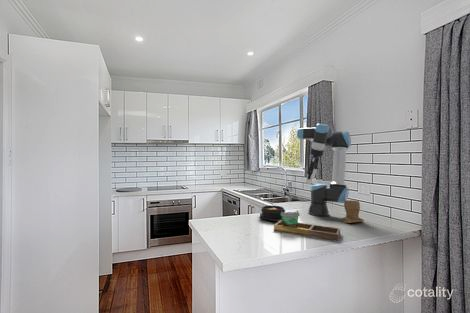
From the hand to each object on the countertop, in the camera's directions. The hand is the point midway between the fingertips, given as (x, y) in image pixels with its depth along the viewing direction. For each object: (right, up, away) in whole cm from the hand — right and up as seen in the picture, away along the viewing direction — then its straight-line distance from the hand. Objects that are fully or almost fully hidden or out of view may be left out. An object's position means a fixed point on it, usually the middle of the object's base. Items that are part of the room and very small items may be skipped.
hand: (310, 180), depth 162 cm
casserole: (-22, -29, +16) cm, 40 cm away
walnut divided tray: (-6, -29, -14) cm, 33 cm away
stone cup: (+32, -30, +12) cm, 45 cm away
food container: (-14, -28, -11) cm, 33 cm away
